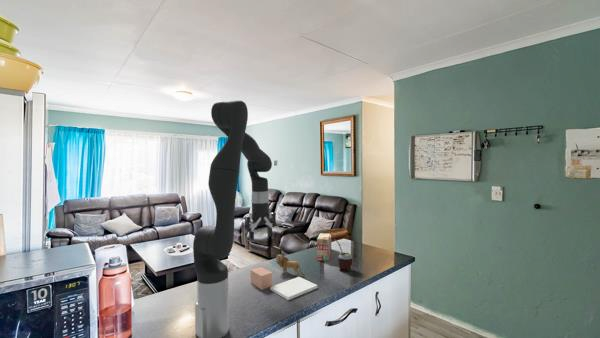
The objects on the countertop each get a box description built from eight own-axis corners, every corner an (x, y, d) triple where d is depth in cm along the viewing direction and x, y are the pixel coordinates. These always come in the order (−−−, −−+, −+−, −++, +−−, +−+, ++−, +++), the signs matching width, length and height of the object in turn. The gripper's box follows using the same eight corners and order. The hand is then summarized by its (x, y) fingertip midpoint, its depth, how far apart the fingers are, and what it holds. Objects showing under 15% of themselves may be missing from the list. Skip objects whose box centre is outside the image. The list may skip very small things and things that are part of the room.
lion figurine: (273, 274, 129) (273, 255, 129) (278, 270, 134) (278, 252, 134) (302, 278, 124) (302, 259, 124) (306, 274, 129) (306, 255, 129)
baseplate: (288, 300, 104) (288, 297, 104) (270, 289, 113) (270, 287, 113) (317, 288, 114) (317, 285, 114) (299, 279, 123) (299, 276, 123)
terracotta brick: (261, 290, 113) (261, 276, 113) (250, 283, 120) (250, 269, 120) (272, 286, 117) (272, 272, 117) (261, 279, 123) (261, 266, 123)
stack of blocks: (321, 248, 169) (321, 229, 169) (331, 249, 168) (331, 229, 168) (317, 260, 148) (316, 238, 148) (328, 261, 147) (328, 239, 147)
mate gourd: (355, 272, 131) (354, 241, 131) (340, 273, 129) (340, 243, 129) (348, 266, 139) (348, 237, 138) (334, 268, 136) (333, 239, 136)
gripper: (249, 204, 110) (249, 243, 111) (278, 200, 119) (279, 236, 119) (241, 202, 117) (242, 238, 117) (270, 198, 125) (270, 233, 125)
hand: (260, 237), depth 118 cm, fingers open, 8 cm apart
